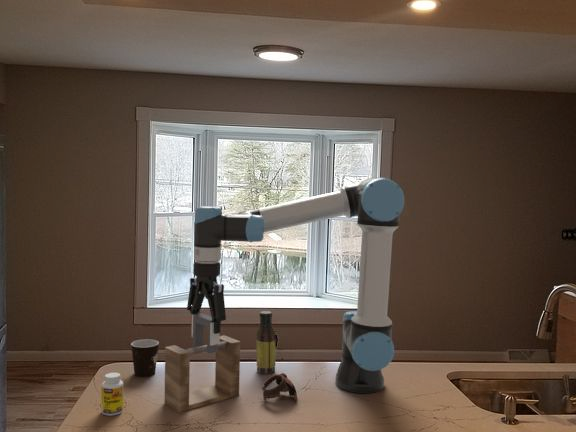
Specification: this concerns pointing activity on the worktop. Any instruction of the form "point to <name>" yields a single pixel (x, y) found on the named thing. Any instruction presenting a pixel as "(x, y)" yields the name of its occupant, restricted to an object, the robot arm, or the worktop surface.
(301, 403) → the worktop surface
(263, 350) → the sauce bottle
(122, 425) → the worktop surface
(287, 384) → the brown looped piece
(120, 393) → the supplement bottle
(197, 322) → the u piece
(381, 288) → the robot arm
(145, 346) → the coffee mug
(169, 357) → the rack
